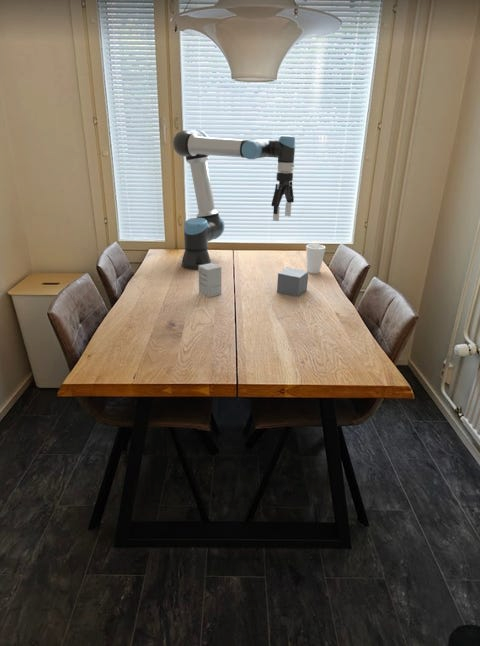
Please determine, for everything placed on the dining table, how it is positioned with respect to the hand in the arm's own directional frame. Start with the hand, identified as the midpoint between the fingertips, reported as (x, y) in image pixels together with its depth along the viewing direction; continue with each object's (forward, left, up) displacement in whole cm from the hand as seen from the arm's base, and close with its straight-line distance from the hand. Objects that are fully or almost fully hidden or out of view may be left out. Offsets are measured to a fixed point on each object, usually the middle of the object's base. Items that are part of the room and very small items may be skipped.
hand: (281, 218), depth 212 cm
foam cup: (+15, +10, -27) cm, 32 cm away
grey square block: (+17, -22, -27) cm, 39 cm away
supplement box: (-12, -45, -27) cm, 54 cm away
